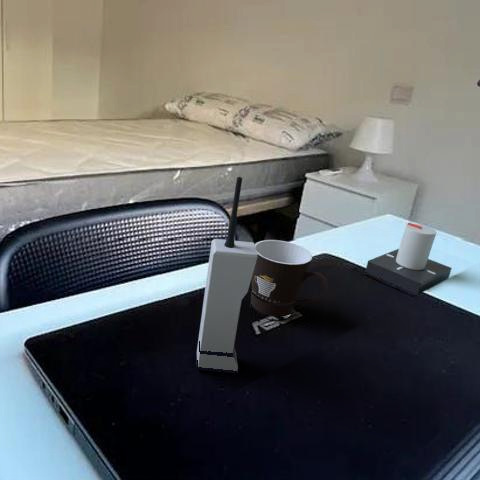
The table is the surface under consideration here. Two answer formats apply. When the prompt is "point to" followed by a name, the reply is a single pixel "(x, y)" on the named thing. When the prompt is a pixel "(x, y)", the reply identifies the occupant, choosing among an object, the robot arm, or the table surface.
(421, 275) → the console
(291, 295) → the coffee mug
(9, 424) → the table surface
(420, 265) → the timer knob
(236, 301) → the vintage mobile phone
